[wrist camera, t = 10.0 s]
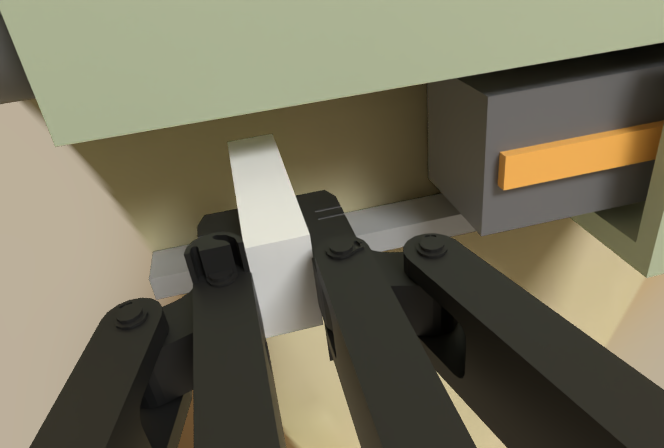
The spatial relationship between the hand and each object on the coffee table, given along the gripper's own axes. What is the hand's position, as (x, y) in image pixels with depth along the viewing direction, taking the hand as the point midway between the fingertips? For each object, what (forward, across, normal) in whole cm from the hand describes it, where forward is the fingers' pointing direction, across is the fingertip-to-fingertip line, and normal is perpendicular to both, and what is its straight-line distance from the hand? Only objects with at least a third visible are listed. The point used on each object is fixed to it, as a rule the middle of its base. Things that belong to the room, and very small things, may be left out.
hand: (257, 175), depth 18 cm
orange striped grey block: (+3, +11, 0) cm, 12 cm away
